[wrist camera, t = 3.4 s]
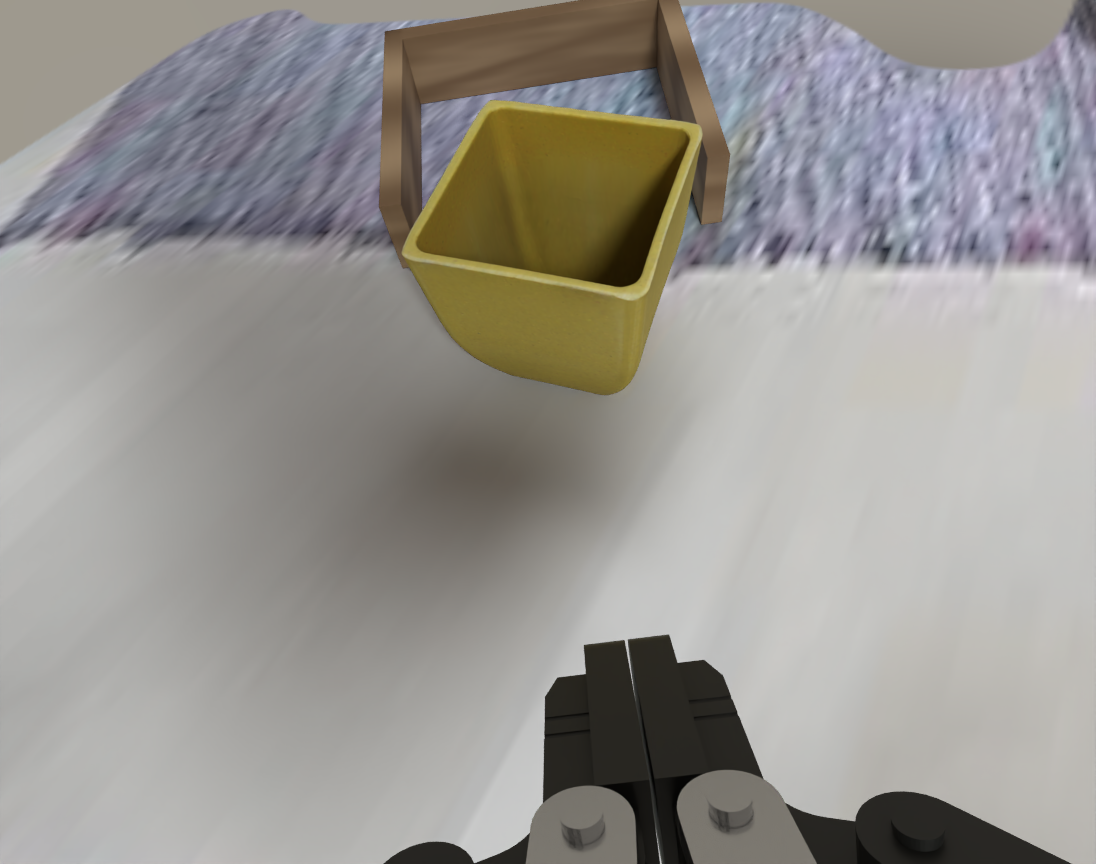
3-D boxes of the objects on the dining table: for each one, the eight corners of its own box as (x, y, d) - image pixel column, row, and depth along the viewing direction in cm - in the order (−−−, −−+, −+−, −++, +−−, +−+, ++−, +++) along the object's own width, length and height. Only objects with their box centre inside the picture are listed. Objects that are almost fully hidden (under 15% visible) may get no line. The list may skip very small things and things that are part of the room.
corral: (721, 221, 37) (730, 154, 33) (402, 268, 37) (379, 207, 34) (670, 54, 44) (673, -15, 41) (404, 96, 45) (384, 31, 41)
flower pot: (517, 255, 37) (485, 93, 29) (691, 286, 35) (706, 119, 27) (451, 399, 33) (394, 254, 25) (643, 443, 31) (644, 300, 23)
